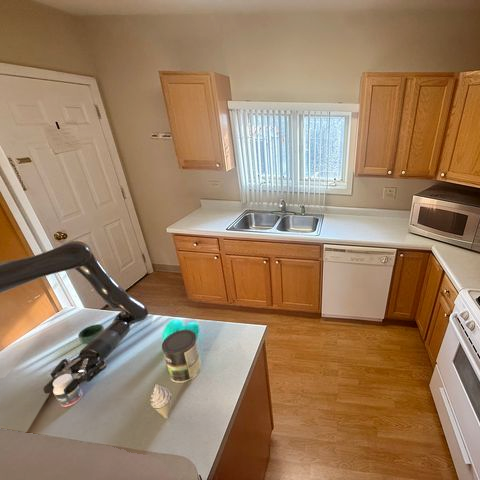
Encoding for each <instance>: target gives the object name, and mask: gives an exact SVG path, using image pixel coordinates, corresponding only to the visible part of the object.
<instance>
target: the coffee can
mask: <svg viewBox="0 0 480 480" xmlns="http://www.w3.org/2000/svg"><path fill="white" fill-rule="evenodd" d="M197 340H198V339H197ZM197 340H196V334H195V333H194V332H193V331H191V330H180V331H177V332H174V333H172V334H171V335H169V336H168V337H167V338H166V339H165V340H164V341H163V340H162V343H161V350H162V351H163V355H164V359H165V362H166V366H167V370H168V373H169V378H170V380H171V381H172V382H174V383H176V384H182V383H187V382H189V381H191V380H193V379H194V378H196V376H197V375H199V374H200V372H201V369H202V360H201V356H200V351H199V346H198V341H197Z"/></svg>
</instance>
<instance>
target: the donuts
mask: <svg viewBox="0 0 480 480" xmlns="http://www.w3.org/2000/svg"><path fill="white" fill-rule="evenodd" d="M180 330H191V331H193V332H194V333H195V334H196V340H198V338H199V334H200V325H199V323H198V322H196V321H189V322H187V323H186V324H185V325H184V323H183V321H182V320H181V319H179V318H174V319H172V320H170V321H169V322H168V323H167V324H166V325H165V327H164V329H163V331H162V337H161V338H162V342H163V341H164V340H165V339H166V338H167V337H168V336H169V335H171V334H172V333H174V332H177V331H180Z"/></svg>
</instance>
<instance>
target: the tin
mask: <svg viewBox="0 0 480 480" xmlns="http://www.w3.org/2000/svg"><path fill="white" fill-rule="evenodd" d="M104 330H105V328H104V326H103V324H92V325H88V326H86V327H85V328H83V329H82V330H80V331H79V333H78V335H77V336H78V339H79V341H80V342H81V344H83V345H88V344H89V343H90V342H91V341H92V340H93V339H94V338H95V337H96V336H97V335H99V334H100V333H101V332H103V331H104Z"/></svg>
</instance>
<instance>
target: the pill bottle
mask: <svg viewBox="0 0 480 480" xmlns="http://www.w3.org/2000/svg"><path fill="white" fill-rule="evenodd" d="M74 379H76V378H75V377H72V376H71V375H70V374H65V373H64V374H62V375H61V376H59V377H58V378H56V379H55V380H54V382H53V386H54V389H53V390H52V393H53V395H54V396H55V399H56V400H57V402H58V403H59V406H61V407H64V408H65V407H70V406H72V405H75V404H76V403H77V402H78V401H80V400H81V398H82V397H83V391H82V388H81V386H80V384H79V385H78V386H77V387H76V389H75V390H74V391H72V392H71V393H70V394H65V393H64V389H65V388H66V387H67V386H68V385H69V384H70V383H71V382H72V381H73V380H74Z"/></svg>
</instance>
